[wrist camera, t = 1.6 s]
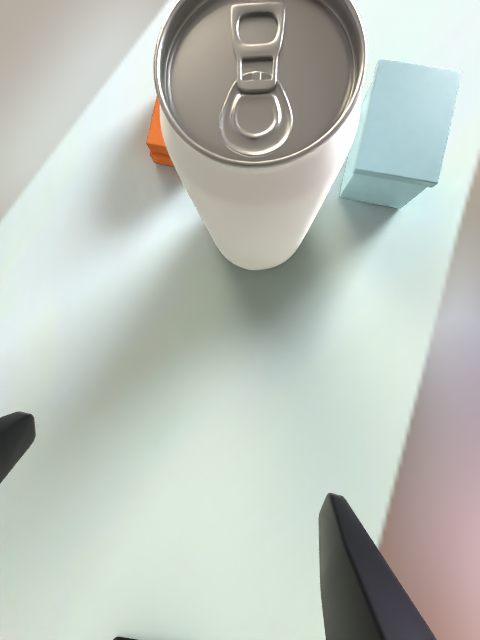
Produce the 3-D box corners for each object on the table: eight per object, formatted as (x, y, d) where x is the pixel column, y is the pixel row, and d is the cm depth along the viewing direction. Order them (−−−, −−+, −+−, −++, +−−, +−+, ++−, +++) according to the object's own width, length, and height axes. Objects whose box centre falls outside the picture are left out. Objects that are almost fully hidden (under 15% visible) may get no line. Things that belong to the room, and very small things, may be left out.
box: (402, 211, 18) (438, 183, 15) (335, 199, 19) (354, 168, 15) (422, 121, 18) (463, 70, 15) (355, 110, 19) (379, 57, 15)
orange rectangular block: (198, 171, 19) (192, 155, 18) (154, 163, 20) (143, 146, 18) (216, 89, 19) (212, 64, 18) (172, 82, 20) (163, 56, 18)
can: (211, 271, 19) (134, 185, 7) (212, 180, 19) (139, -53, 7) (304, 272, 19) (385, 180, 7) (305, 179, 19) (387, -72, 7)
